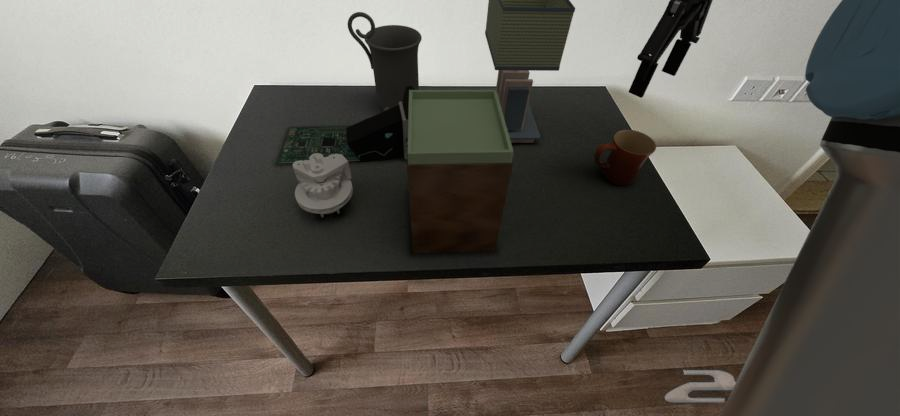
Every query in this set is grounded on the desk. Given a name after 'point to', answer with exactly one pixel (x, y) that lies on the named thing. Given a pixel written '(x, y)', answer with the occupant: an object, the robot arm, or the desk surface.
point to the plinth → (456, 205)
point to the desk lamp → (525, 54)
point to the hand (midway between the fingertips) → (652, 83)
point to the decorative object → (382, 133)
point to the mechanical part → (323, 183)
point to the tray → (457, 128)
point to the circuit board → (316, 143)
